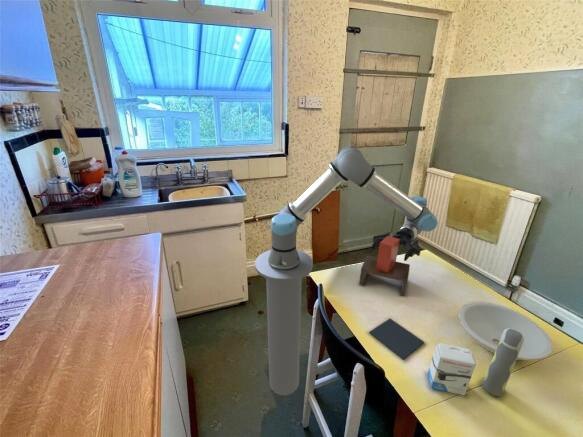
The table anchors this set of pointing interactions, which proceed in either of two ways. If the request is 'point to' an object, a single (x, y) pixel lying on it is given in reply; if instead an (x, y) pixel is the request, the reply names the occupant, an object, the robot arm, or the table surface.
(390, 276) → the shelf
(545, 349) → the soup bowl
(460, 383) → the ink box
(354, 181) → the robot arm
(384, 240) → the block
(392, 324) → the mat
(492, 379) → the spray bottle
